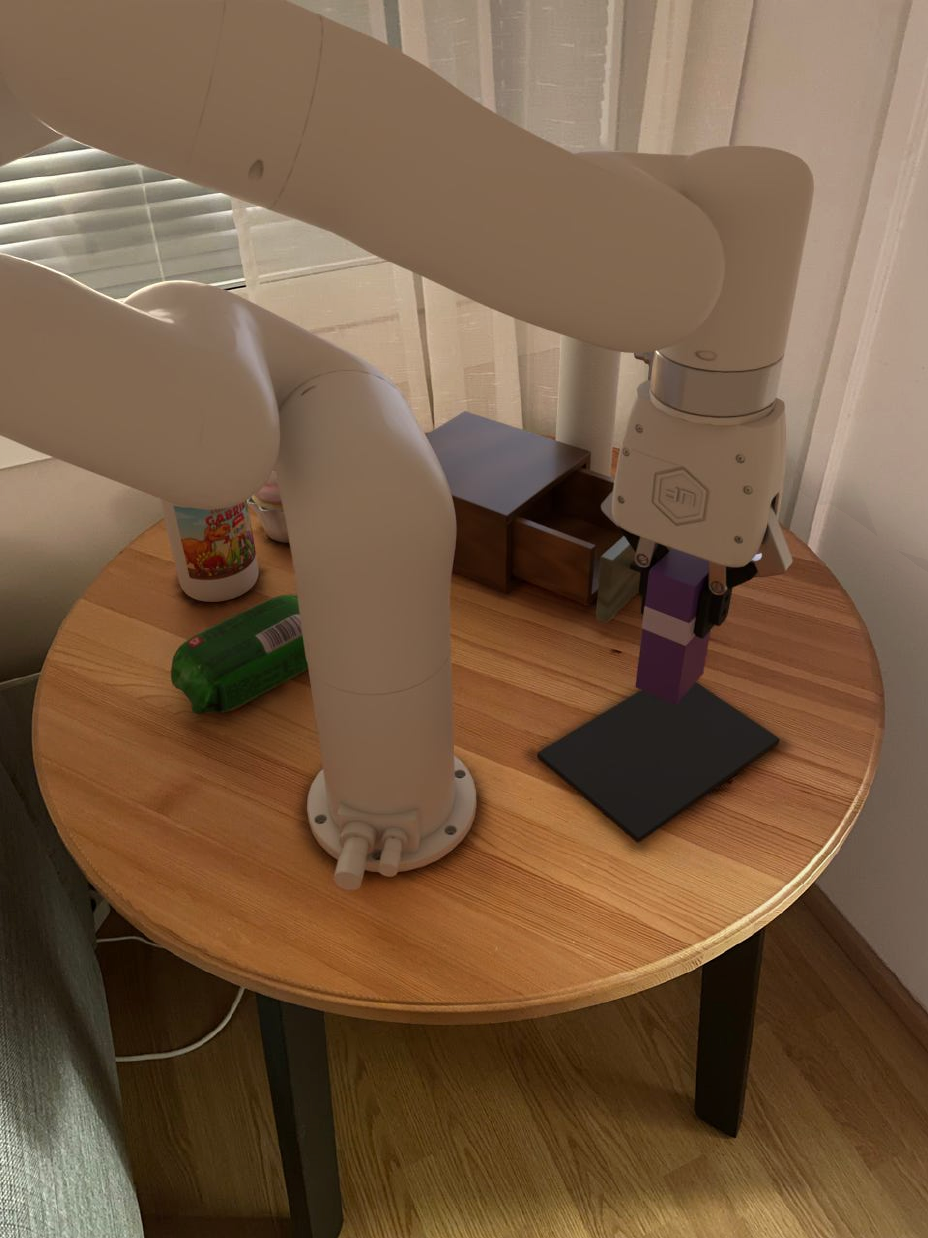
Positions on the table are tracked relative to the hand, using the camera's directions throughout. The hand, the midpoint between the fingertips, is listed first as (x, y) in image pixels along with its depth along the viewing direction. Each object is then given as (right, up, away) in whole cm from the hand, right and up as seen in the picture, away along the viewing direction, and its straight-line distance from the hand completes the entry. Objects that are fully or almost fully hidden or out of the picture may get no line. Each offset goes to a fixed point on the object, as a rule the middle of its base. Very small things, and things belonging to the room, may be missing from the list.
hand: (680, 614), depth 71 cm
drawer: (-2, +4, +26) cm, 27 cm away
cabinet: (-13, +9, +34) cm, 37 cm away
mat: (0, -11, +8) cm, 14 cm away
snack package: (-33, -5, +17) cm, 37 cm away
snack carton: (0, -5, +3) cm, 6 cm away
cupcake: (-33, +9, +35) cm, 49 cm away
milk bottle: (-39, +3, +28) cm, 48 cm away
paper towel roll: (-2, +13, +40) cm, 42 cm away
